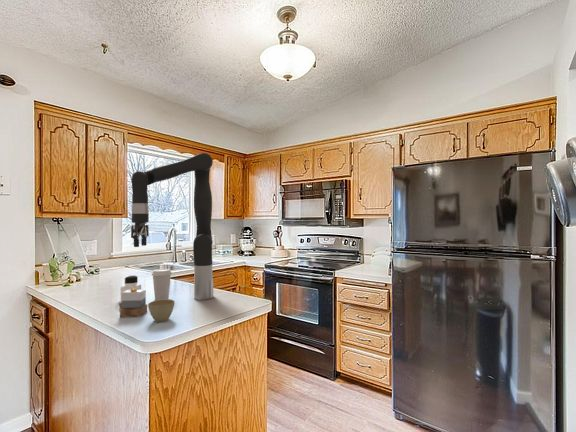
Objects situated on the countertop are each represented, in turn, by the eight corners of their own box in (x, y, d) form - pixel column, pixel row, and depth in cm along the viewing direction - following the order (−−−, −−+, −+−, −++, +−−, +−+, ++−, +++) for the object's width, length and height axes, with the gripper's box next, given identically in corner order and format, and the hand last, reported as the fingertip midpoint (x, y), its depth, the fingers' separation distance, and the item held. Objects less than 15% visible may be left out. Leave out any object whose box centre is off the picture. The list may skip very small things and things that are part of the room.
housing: (145, 305, 138) (145, 287, 138) (140, 308, 133) (140, 290, 133) (127, 305, 137) (127, 288, 137) (121, 308, 132) (121, 290, 132)
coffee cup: (147, 300, 157) (147, 270, 158) (161, 296, 166) (161, 268, 166) (162, 302, 154) (161, 272, 154) (175, 297, 163) (175, 269, 163)
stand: (147, 311, 139) (147, 304, 139) (139, 316, 131) (139, 309, 131) (128, 311, 139) (128, 304, 139) (120, 317, 131) (119, 310, 131)
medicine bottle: (141, 297, 164) (141, 274, 164) (133, 301, 156) (133, 277, 157) (128, 297, 164) (128, 274, 164) (120, 301, 157) (120, 277, 157)
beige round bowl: (153, 316, 131) (153, 299, 131) (177, 315, 132) (177, 299, 132) (144, 324, 121) (144, 306, 121) (170, 323, 122) (170, 305, 122)
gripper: (141, 212, 144) (141, 247, 144) (153, 213, 158) (153, 245, 158) (125, 212, 144) (125, 247, 144) (138, 213, 158) (138, 245, 158)
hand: (140, 246), depth 151 cm, fingers open, 8 cm apart
